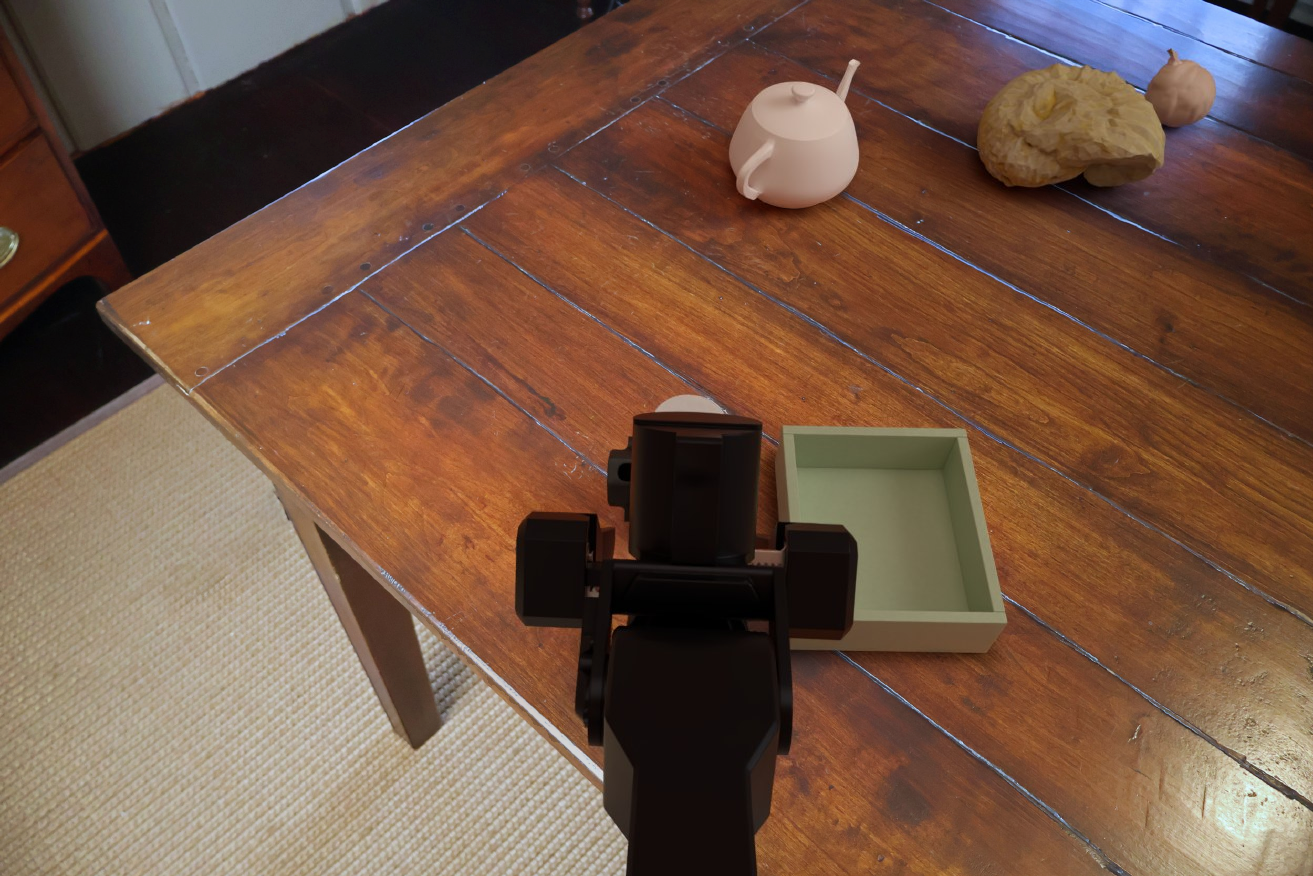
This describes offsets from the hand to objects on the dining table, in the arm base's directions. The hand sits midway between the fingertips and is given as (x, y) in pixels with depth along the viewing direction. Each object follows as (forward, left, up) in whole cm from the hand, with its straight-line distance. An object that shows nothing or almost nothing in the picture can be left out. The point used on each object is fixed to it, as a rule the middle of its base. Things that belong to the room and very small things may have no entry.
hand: (683, 537), depth 62 cm
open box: (+4, -14, -8) cm, 17 cm away
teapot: (+46, -11, -8) cm, 48 cm away
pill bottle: (+6, 0, -8) cm, 10 cm away
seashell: (+47, -37, -8) cm, 60 cm away
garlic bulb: (+56, -51, -8) cm, 76 cm away
